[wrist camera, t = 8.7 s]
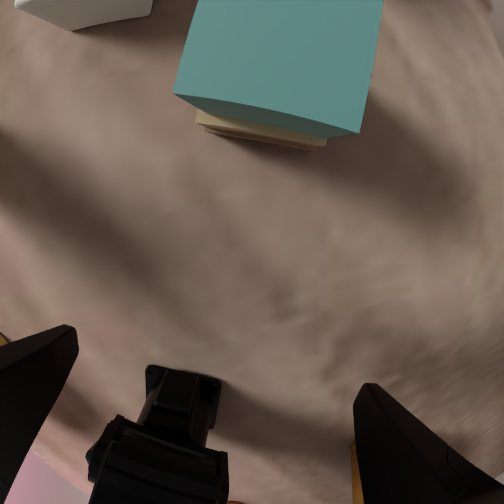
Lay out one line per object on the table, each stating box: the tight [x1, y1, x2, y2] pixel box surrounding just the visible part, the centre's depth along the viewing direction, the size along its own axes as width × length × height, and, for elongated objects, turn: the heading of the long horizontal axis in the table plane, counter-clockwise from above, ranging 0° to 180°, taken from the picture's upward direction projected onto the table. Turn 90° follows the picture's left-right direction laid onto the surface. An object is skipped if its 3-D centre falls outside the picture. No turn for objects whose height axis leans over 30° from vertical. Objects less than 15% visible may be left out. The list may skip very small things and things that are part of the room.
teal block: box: [173, 0, 383, 139], centre depth 9 cm, size 5×5×5 cm
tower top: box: [195, 109, 327, 147], centre depth 13 cm, size 6×6×4 cm
